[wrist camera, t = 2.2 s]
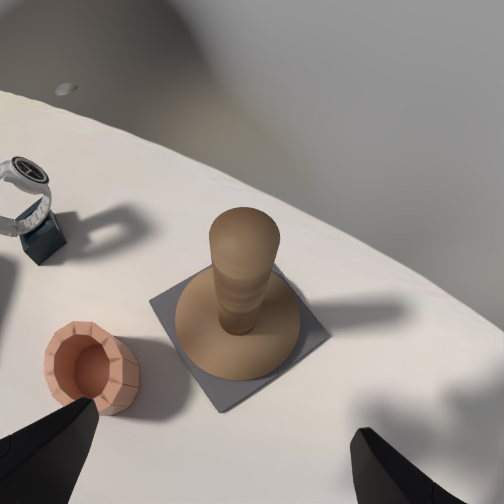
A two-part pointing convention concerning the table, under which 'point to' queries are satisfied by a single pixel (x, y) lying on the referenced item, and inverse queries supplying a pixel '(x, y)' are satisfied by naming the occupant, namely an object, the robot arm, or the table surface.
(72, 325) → the bowl
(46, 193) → the watch
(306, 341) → the mat
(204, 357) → the lid
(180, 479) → the table surface
